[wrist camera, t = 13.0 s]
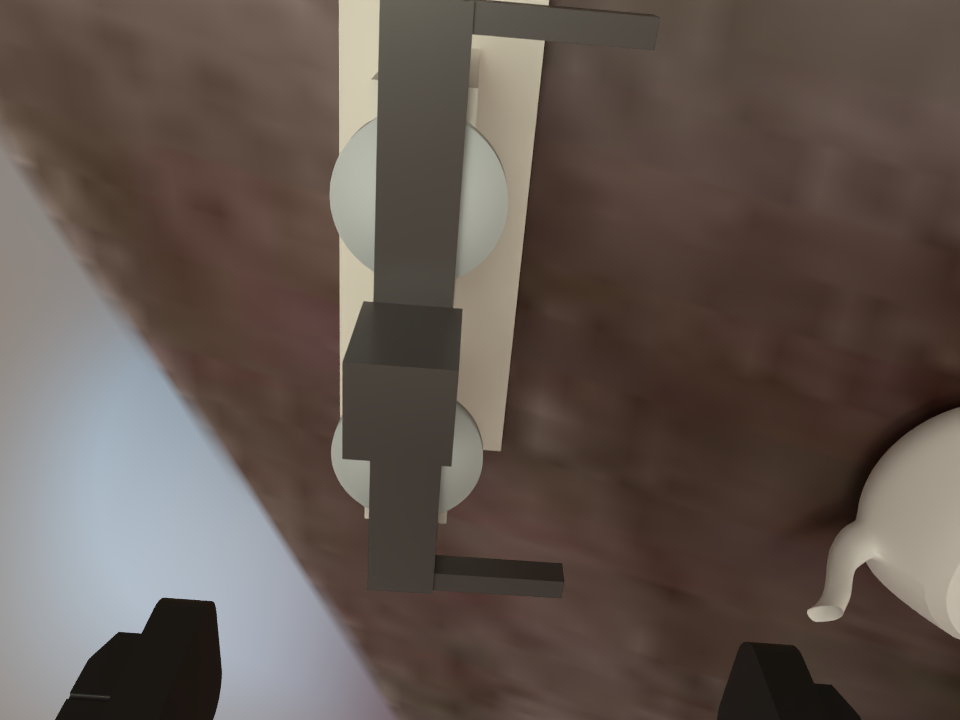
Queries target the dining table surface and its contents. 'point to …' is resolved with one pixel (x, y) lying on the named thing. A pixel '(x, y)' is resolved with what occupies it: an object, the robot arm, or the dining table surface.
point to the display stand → (510, 130)
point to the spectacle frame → (430, 281)
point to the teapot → (906, 528)
